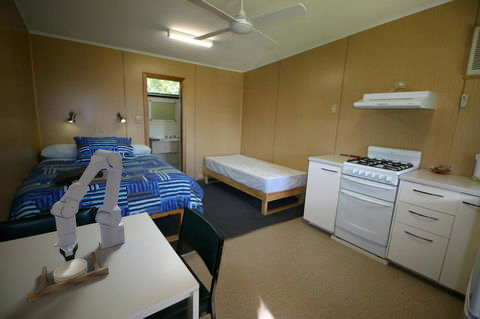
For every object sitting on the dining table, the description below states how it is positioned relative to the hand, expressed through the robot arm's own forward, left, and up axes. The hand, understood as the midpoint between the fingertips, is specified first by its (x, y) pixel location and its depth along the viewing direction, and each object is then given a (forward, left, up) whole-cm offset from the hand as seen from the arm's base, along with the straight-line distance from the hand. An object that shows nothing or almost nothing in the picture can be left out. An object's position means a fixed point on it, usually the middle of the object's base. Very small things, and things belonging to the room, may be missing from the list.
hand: (70, 262), depth 84 cm
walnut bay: (0, +6, -1) cm, 6 cm away
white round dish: (0, +6, -2) cm, 6 cm away
